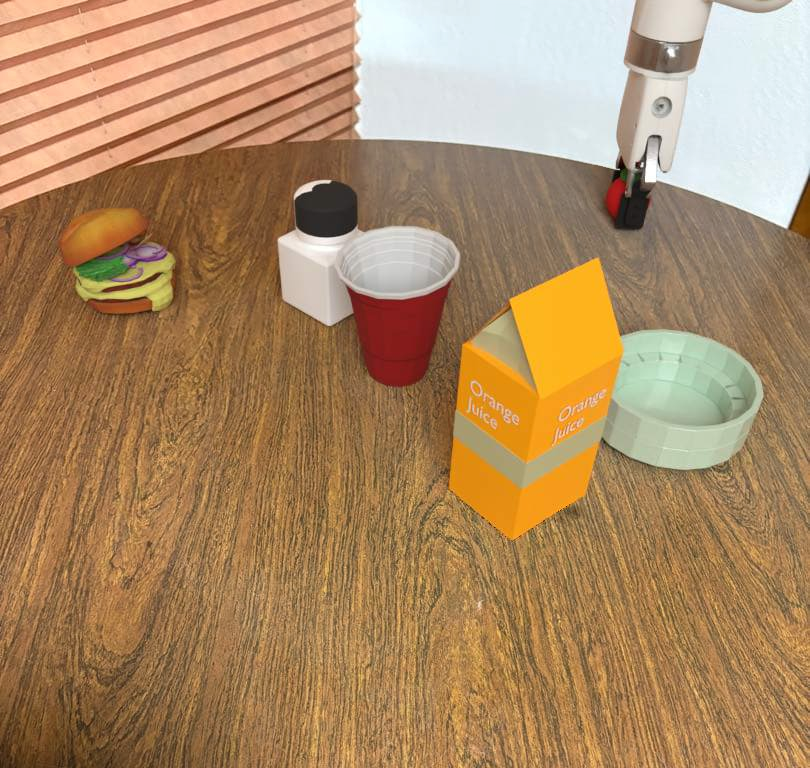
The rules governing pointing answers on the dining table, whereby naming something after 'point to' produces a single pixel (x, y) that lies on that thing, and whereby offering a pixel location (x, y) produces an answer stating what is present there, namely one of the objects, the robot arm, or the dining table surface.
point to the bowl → (681, 400)
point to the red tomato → (618, 192)
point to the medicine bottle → (318, 250)
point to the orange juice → (535, 401)
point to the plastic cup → (397, 297)
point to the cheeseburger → (118, 262)
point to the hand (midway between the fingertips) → (624, 213)
